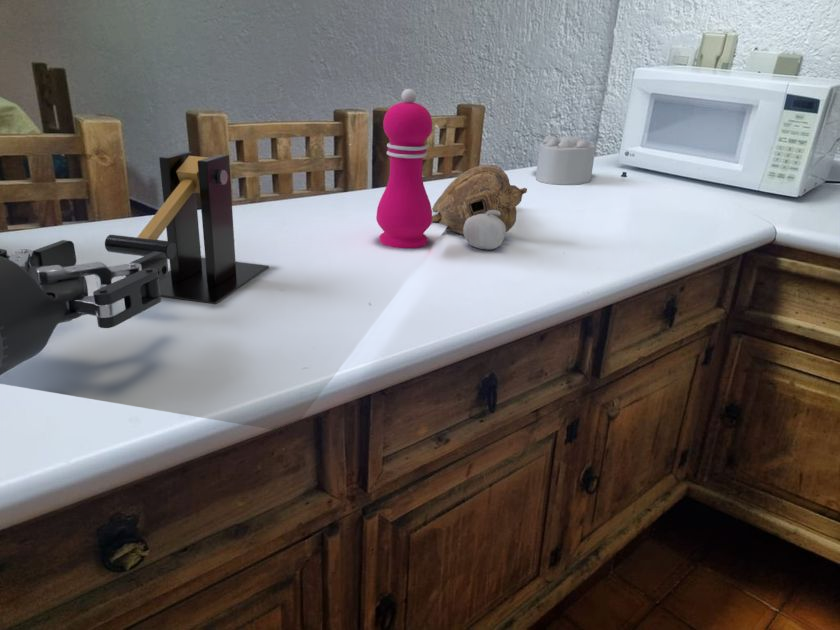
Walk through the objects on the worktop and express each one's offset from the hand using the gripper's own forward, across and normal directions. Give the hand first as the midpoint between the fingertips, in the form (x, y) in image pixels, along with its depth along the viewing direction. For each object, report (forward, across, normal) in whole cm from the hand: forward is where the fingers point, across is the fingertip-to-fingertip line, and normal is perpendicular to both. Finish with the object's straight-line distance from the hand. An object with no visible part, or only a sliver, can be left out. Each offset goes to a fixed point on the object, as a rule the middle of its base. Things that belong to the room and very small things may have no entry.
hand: (116, 257), depth 54 cm
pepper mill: (+35, -16, +8) cm, 39 cm away
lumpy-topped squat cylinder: (+98, -35, +8) cm, 105 cm away
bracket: (+13, 0, +7) cm, 15 cm away
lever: (+9, 0, -1) cm, 9 cm away
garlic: (+40, -26, +8) cm, 48 cm away
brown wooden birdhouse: (+55, -24, +8) cm, 61 cm away
